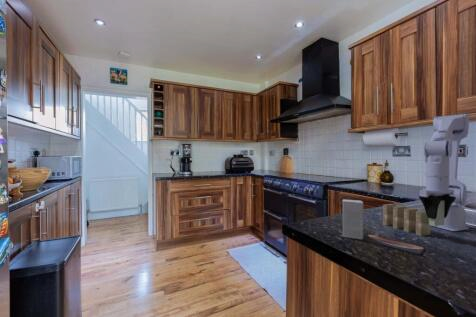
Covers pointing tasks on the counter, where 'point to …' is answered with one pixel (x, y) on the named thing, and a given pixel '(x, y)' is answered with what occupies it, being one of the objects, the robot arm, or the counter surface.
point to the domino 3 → (410, 219)
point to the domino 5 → (438, 216)
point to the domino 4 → (422, 223)
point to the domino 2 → (398, 217)
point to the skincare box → (353, 219)
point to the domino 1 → (388, 214)
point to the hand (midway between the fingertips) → (436, 217)
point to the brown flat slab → (394, 244)
